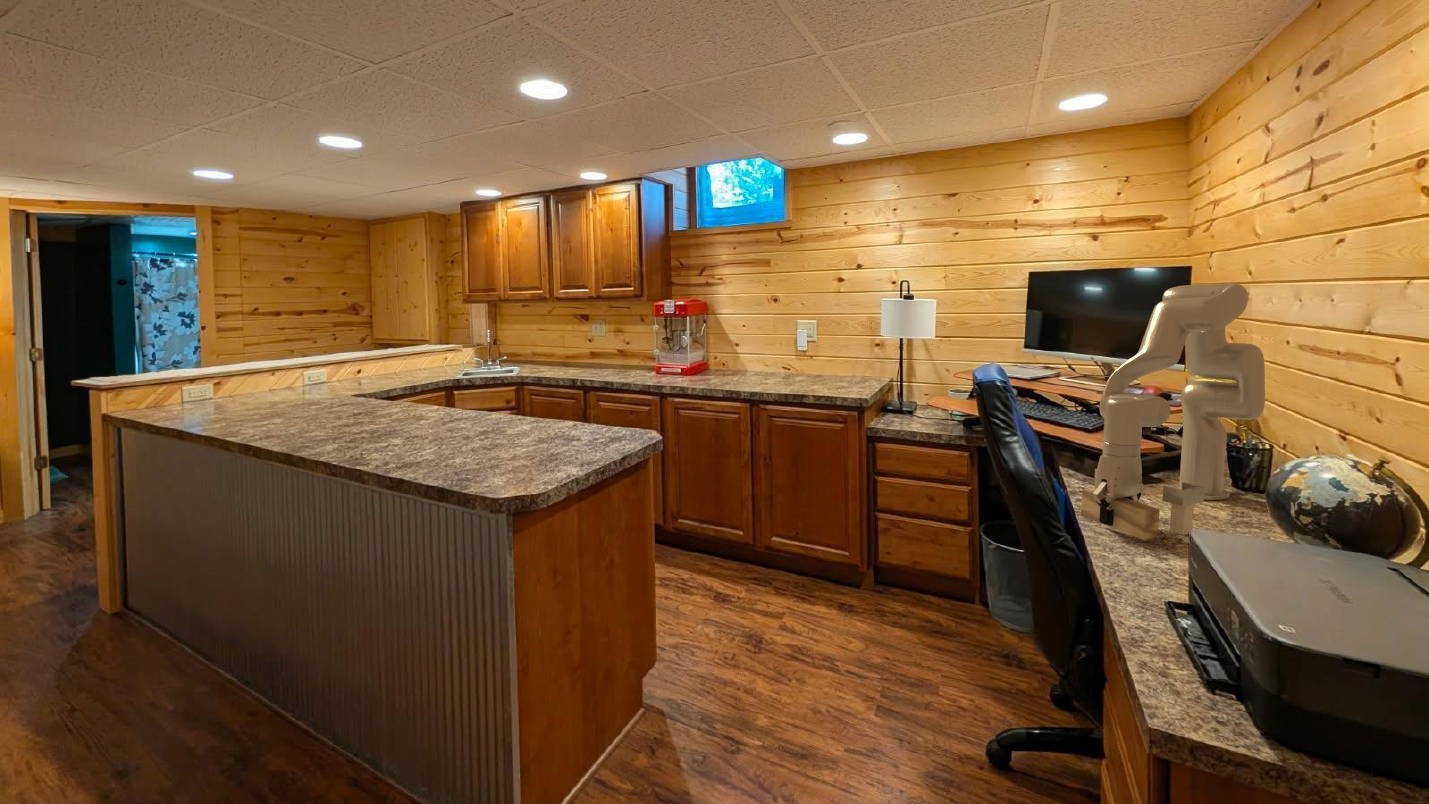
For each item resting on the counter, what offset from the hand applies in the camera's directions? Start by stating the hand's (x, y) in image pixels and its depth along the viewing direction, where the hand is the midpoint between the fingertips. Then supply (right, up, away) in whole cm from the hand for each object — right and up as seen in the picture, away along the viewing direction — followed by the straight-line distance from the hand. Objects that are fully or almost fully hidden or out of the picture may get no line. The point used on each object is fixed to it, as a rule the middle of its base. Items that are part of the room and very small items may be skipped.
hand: (1117, 521), depth 149 cm
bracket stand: (+9, 0, +3) cm, 9 cm away
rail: (0, -1, 0) cm, 1 cm away
